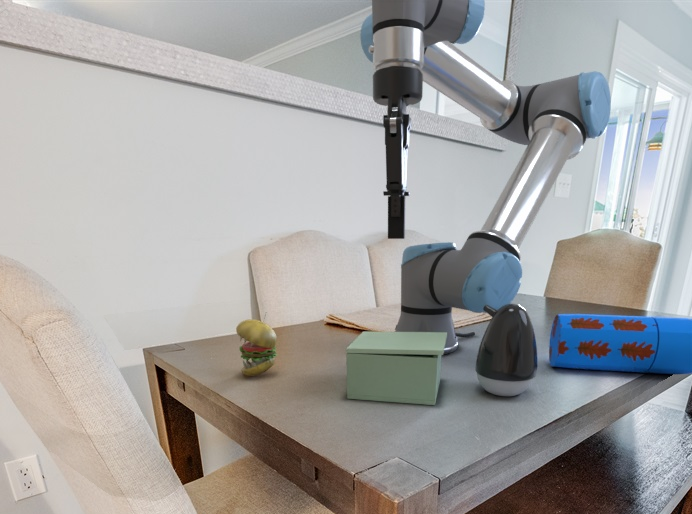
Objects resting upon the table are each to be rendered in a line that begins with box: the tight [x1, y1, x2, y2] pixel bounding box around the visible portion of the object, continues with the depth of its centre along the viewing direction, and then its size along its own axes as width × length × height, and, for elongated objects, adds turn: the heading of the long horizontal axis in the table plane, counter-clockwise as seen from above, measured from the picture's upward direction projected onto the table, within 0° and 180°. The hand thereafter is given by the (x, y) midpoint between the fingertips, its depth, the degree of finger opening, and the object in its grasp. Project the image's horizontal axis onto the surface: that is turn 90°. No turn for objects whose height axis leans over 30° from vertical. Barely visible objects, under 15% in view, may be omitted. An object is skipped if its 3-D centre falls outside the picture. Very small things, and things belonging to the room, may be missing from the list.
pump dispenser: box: [474, 303, 538, 397], centre depth 78 cm, size 10×10×15 cm
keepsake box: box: [345, 353, 443, 406], centre depth 80 cm, size 15×13×8 cm
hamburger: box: [235, 311, 278, 377], centre depth 86 cm, size 8×7×12 cm
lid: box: [345, 330, 447, 356], centre depth 78 cm, size 15×13×1 cm
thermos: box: [548, 313, 692, 375], centre depth 91 cm, size 11×11×25 cm
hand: (396, 238), depth 77 cm, fingers closed
